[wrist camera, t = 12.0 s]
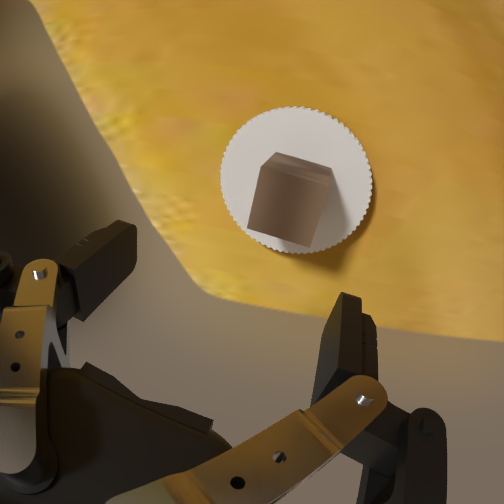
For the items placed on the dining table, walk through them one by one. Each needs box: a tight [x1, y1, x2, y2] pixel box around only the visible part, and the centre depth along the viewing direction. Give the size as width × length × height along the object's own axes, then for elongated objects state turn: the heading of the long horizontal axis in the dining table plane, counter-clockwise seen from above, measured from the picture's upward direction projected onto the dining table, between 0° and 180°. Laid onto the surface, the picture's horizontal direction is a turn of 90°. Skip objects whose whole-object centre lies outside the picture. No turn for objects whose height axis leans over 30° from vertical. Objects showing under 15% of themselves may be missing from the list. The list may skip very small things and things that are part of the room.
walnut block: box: [247, 152, 331, 248], centre depth 26 cm, size 5×5×6 cm
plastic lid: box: [220, 106, 372, 254], centre depth 29 cm, size 14×14×2 cm
